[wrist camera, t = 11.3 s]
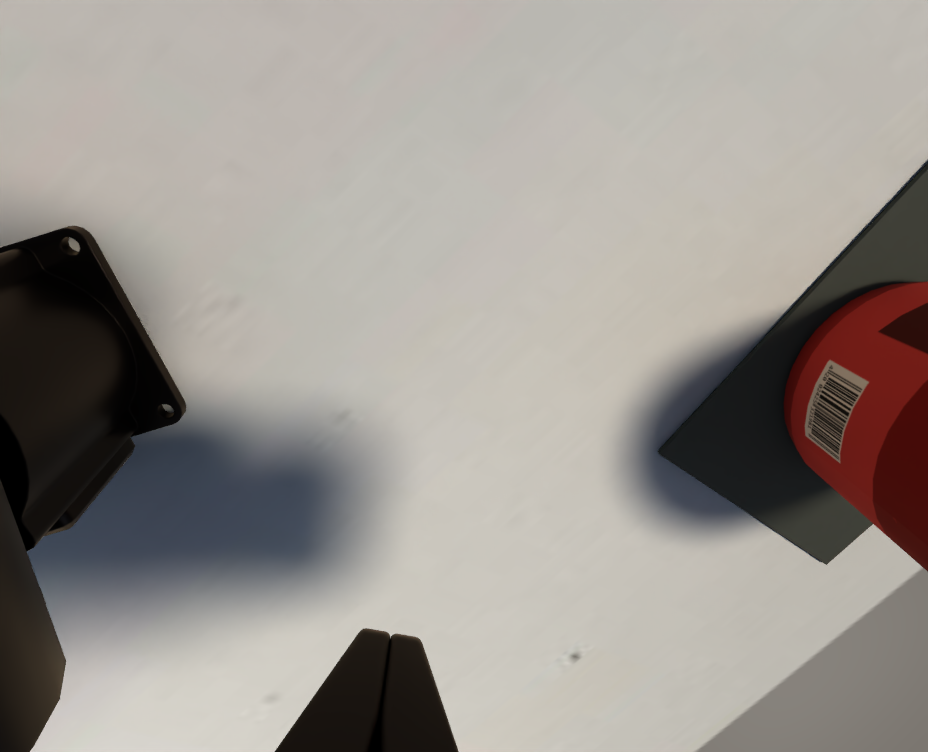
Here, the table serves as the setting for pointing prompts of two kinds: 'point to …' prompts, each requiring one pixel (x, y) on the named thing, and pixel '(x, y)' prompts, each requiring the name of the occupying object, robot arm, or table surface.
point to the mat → (763, 389)
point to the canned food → (869, 409)
